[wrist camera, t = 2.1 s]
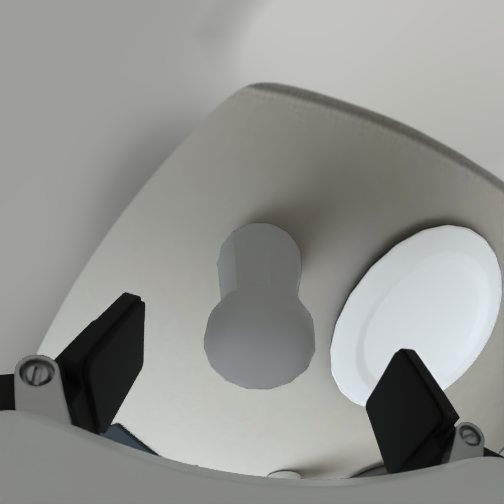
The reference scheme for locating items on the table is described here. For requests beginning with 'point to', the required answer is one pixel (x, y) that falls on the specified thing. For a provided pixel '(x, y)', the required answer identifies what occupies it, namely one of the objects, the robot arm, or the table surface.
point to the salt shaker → (259, 311)
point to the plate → (418, 309)
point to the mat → (125, 438)
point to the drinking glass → (285, 475)
